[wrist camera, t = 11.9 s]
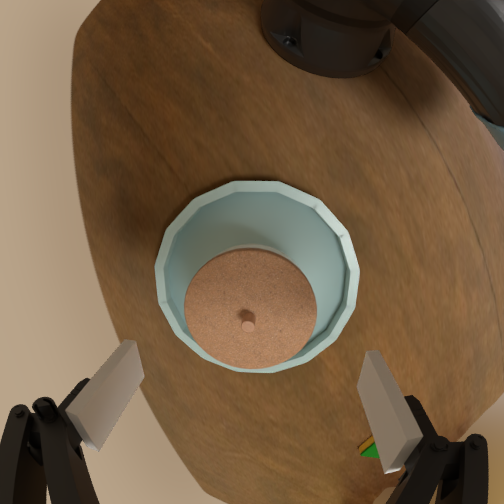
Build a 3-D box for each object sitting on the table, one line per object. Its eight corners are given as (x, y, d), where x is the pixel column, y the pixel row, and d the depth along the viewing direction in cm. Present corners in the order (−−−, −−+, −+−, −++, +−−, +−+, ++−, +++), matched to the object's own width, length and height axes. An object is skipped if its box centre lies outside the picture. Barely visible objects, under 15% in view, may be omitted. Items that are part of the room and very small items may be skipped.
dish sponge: (403, 452, 37) (406, 460, 35) (357, 446, 36) (359, 456, 34) (427, 431, 36) (431, 439, 33) (384, 422, 35) (388, 432, 32)
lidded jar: (265, 344, 30) (263, 399, 21) (186, 293, 29) (155, 335, 20) (326, 272, 28) (350, 310, 19) (241, 211, 27) (227, 224, 18)
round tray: (159, 184, 28) (150, 184, 25) (357, 185, 27) (365, 185, 24) (174, 354, 33) (168, 365, 30) (338, 359, 32) (343, 371, 29)
